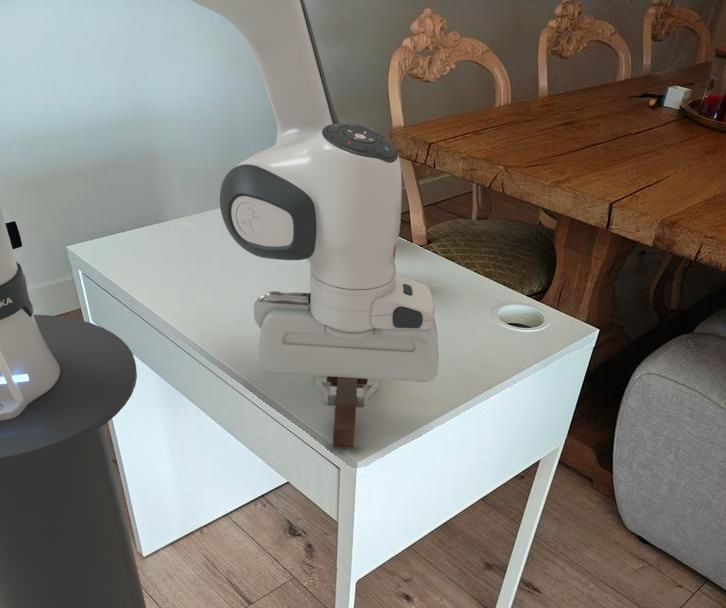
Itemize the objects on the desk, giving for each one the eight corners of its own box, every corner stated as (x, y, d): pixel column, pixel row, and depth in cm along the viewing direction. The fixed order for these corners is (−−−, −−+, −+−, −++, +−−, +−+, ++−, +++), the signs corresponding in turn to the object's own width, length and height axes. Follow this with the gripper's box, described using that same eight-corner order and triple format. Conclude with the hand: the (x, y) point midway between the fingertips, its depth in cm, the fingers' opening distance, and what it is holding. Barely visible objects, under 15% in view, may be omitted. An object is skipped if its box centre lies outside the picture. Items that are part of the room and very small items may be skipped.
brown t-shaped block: (308, 445, 81) (308, 419, 78) (316, 375, 90) (316, 349, 87) (378, 450, 81) (380, 423, 78) (379, 379, 90) (381, 353, 87)
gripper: (249, 304, 72) (254, 414, 81) (448, 316, 73) (432, 424, 82) (257, 277, 77) (261, 383, 86) (444, 288, 77) (429, 393, 86)
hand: (346, 403), depth 84 cm, fingers closed on brown t-shaped block, 2 cm apart
